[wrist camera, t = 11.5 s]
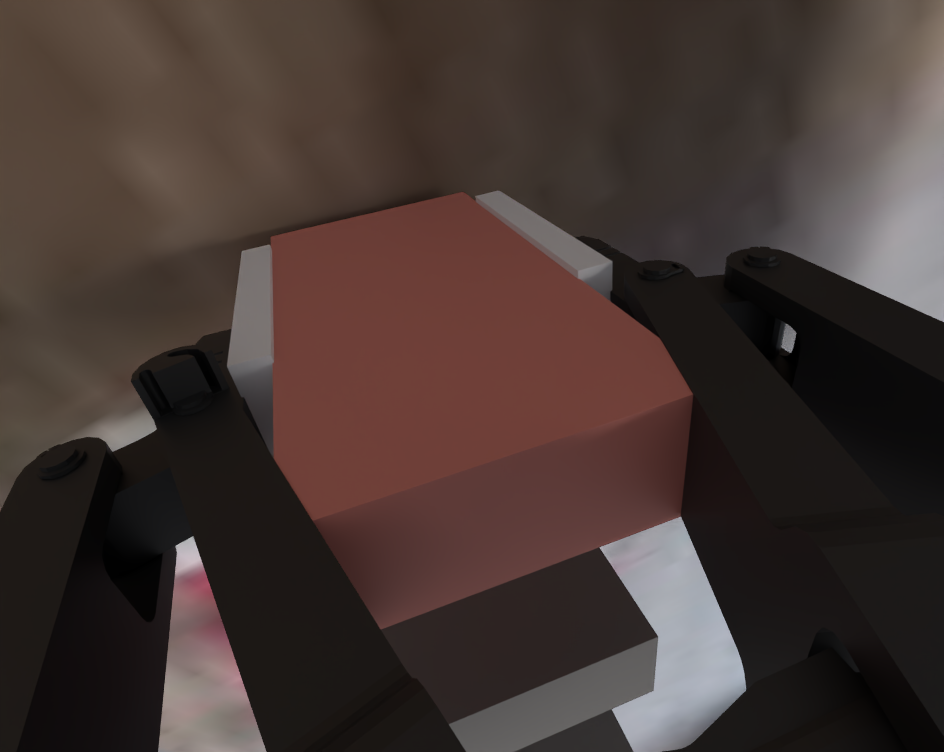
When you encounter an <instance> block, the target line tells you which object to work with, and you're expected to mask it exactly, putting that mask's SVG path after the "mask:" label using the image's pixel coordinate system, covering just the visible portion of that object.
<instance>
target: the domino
mask: <svg viewBox="0 0 944 752" xmlns="http://www.w3.org/2000/svg"><path fill="white" fill-rule="evenodd" d="M381 631H382V632H383V634H384V636H385V637H386V639H387V640H388V642H389V644H390V645H391V647H392V648H393V650H394V652H395V653H396V655H397V656H398V658H399V660H400V661H401V663H402V664H403V666H404V667H405V669H406V670H407V672H408V673H409V674H410V676H411V677H412V678H417V679H418V680H419V682H420V683H421V684H422V685H423V686H424V688H425V689H426V691H427V692H428V694H429V695H430V697H431V698H432V699H433V701H434V702H435V704H436V705H437V707H438V708H439V710H440V712H441V713H442V715H443V716H444V718H445V719H446V721H447V723H448V724H449V726H450V727H451V729H452V730H453V732H454V733H455V735H456V737H457V738H458V740H459V741H460V743H461V744H462V746H463V748H464V749H465V751H466V752H515V751H517V750H519V749H521V748H524V747H526V746H528V745H531V744H533V743H535V742H537V741H540V740H542V739H544V738H547V737H549V736H551V735H553V734H556V733H558V732H560V731H563V730H565V729H567V728H569V727H572V726H574V725H576V724H579V723H581V722H583V721H585V720H588V719H590V718H592V717H595V716H597V715H599V714H601V713H604V712H606V711H608V710H611V709H613V708H615V707H617V706H620V705H622V704H624V703H627V702H629V701H631V700H633V699H636V698H638V697H640V696H643V695H645V694H647V693H649V692H652V691H653V690H654V679H655V667H656V656H657V644H658V636H657V634H656V633H655V631H654V630H653V628H652V627H651V625H650V624H649V622H648V621H647V619H646V618H645V616H644V615H643V613H642V612H641V610H640V608H639V607H638V605H637V604H636V602H635V601H634V599H633V598H632V596H631V595H630V593H629V592H628V590H627V589H626V587H625V586H624V584H623V583H622V581H621V580H620V578H619V577H618V575H617V574H616V572H615V571H614V569H613V567H612V566H611V564H610V563H609V561H608V560H607V558H606V557H605V555H604V554H603V552H602V551H601V549H600V548H599V547H598V548H596V549H593V550H590V551H588V552H585V553H582V554H580V555H577V556H575V557H572V558H569V559H567V560H564V561H561V562H559V563H556V564H553V565H551V566H548V567H545V568H543V569H540V570H537V571H535V572H532V573H529V574H527V575H524V576H521V577H519V578H516V579H514V580H511V581H508V582H506V583H503V584H500V585H498V586H495V587H492V588H490V589H487V590H484V591H482V592H479V593H476V594H474V595H471V596H468V597H466V598H463V599H460V600H458V601H455V602H453V603H450V604H447V605H445V606H442V607H439V608H437V609H434V610H431V611H429V612H426V613H423V614H421V615H418V616H415V617H413V618H410V619H407V620H405V621H402V622H399V623H397V624H394V625H392V626H389V627H386V628H384V629H381Z"/></svg>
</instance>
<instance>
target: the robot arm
mask: <svg viewBox="0 0 944 752" xmlns="http://www.w3.org/2000/svg"><path fill="white" fill-rule="evenodd" d="M475 199H476V202H477V203H478V204H479V205H481V206H482V207H483V208H485V209H486V210H487V211H489V212H490V213H491V214H493V215H494V216H495V217H496V218H498V219H499V220H500V221H502V222H503V223H504V224H506V225H507V226H508V227H510V228H511V229H512V230H514V231H515V232H516V233H518V234H519V235H520V236H522V237H523V238H524V239H526V240H527V241H528V242H530V243H531V244H532V245H534V246H535V247H536V248H538V249H539V250H540V251H542V252H543V253H544V254H546V255H547V256H548V257H550V258H551V259H552V260H554V261H555V262H556V263H558V264H559V265H560V266H562V267H563V268H564V269H566V270H567V271H568V272H570V273H571V274H572V275H574V276H575V277H576V278H578V279H581V280H582V281H584V282H585V283H586V284H588V285H589V286H590V287H592V288H593V289H594V290H596V291H597V292H598V293H600V294H601V295H602V296H604V297H605V298H606V299H608V300H609V301H610V302H612V303H613V304H614V305H616V306H617V307H618V308H620V309H621V310H622V311H624V312H625V313H627V314H628V315H629V316H631V317H632V318H633V319H635V320H636V321H637V322H639V323H640V324H641V325H643V326H644V327H645V328H647V329H648V330H649V331H651V332H652V333H653V334H655V335H656V336H657V337H659V338H660V339H661V341H662V342H663V344H664V346H665V347H666V349H667V351H668V353H669V354H670V356H671V358H672V359H673V361H674V363H675V364H676V366H677V368H678V369H679V371H680V373H681V374H682V376H683V378H684V380H685V381H686V383H687V385H688V386H689V388H690V390H691V391H692V393H693V402H692V412H691V421H690V431H689V440H688V450H687V459H686V469H685V479H684V488H683V498H682V507H681V517H682V520H683V522H684V524H685V527H686V529H687V531H688V534H689V536H690V538H691V541H692V543H693V546H694V548H695V550H696V553H697V555H698V557H699V560H700V562H701V564H702V567H703V569H704V571H705V574H706V576H707V578H708V581H709V583H710V586H711V588H712V590H713V593H714V595H715V597H716V600H717V602H718V604H719V607H720V609H721V611H722V614H723V616H724V618H725V621H726V623H727V626H728V628H729V630H730V633H731V635H732V637H733V640H734V642H735V644H736V647H737V649H738V652H739V655H740V657H741V660H742V664H743V668H744V673H745V681H746V689H747V690H746V691H745V692H744V693H743V694H742V695H741V696H740V697H739V698H738V699H737V700H736V701H735V702H734V703H733V704H732V705H731V706H730V707H729V708H728V709H727V710H726V711H725V712H724V713H723V714H722V715H721V716H720V717H719V718H718V719H717V720H716V721H715V722H714V723H713V724H712V725H711V726H710V727H709V728H708V729H707V730H706V731H705V732H704V733H703V734H702V735H700V736H699V737H698V738H697V739H696V740H695V741H694V742H693V743H692V744H691V745H689V746H687V747H685V748H682V749H678V750H672V751H663V752H944V322H942V321H940V320H937V319H935V318H933V317H931V316H929V315H926V314H924V313H922V312H920V311H917V310H915V309H913V308H911V307H909V306H906V305H904V304H902V303H900V302H897V301H895V300H893V299H891V298H888V297H886V296H884V295H882V294H880V293H877V292H875V291H873V290H871V289H868V288H866V287H864V286H862V285H860V284H857V283H855V282H853V281H851V280H848V279H846V278H844V277H842V276H839V275H837V274H835V273H833V272H831V271H828V270H826V269H824V268H822V267H819V266H817V265H815V264H813V263H811V262H808V261H806V260H804V259H802V258H799V257H797V256H795V255H793V254H790V253H788V252H784V251H781V250H777V249H771V248H769V247H760V248H759V247H751V248H750V249H744V250H739V251H736V252H734V253H731V254H730V255H729V256H728V257H727V259H726V267H725V275H716V276H707V277H697V278H696V277H695V276H694V275H693V273H692V272H691V271H690V270H689V269H688V268H687V267H685V266H684V265H682V264H679V263H677V262H672V261H662V260H654V261H645V262H641V263H639V262H637V261H635V260H633V259H632V258H630V257H628V256H627V255H625V254H623V253H620V251H618V250H616V249H615V248H613V247H612V248H611V246H610V245H608V244H606V243H604V242H603V241H601V240H599V239H594V238H590V237H586V236H580V237H576V238H574V237H573V236H571V235H569V234H568V233H566V232H565V231H563V230H561V229H560V228H558V227H557V226H555V225H553V224H552V223H550V222H549V221H547V220H546V219H544V218H542V217H541V216H539V215H538V214H536V213H534V212H533V211H531V210H530V209H528V208H526V207H525V206H523V205H522V204H520V203H518V202H517V201H515V200H514V199H512V198H510V197H509V196H507V195H506V194H504V193H502V192H501V191H499V190H498V191H494V192H490V193H486V194H481V195H477V196H475ZM786 324H788V325H789V326H791V327H792V328H793V329H794V330H795V331H796V333H797V334H796V338H795V343H794V348H793V350H792V352H791V353H789V352H787V351H786V350H784V349H783V348H781V345H782V340H783V335H784V330H785V325H786ZM272 363H274V331H273V276H272V249H271V246H270V244H269V245H265V246H261V247H257V248H252V249H248V250H244V251H242V254H241V261H240V269H239V277H238V285H237V292H236V300H235V308H234V315H233V323H232V329H229V330H225V331H221V332H218V333H214V334H210V335H206V336H203V337H202V338H201V339H200V340H199V341H198V342H197V343H196V345H192V346H185V347H179V348H176V349H173V350H170V351H166V352H164V353H162V354H160V355H158V356H155V357H153V358H151V359H150V360H148V361H147V362H145V363H144V364H142V365H141V366H140V367H139V368H138V369H137V370H136V371H135V372H134V373H133V374H132V379H131V382H132V384H133V386H134V388H135V389H136V391H137V393H138V394H139V396H140V398H141V399H142V401H143V403H144V404H145V406H146V408H147V409H148V411H149V413H150V414H151V416H152V418H153V419H154V422H155V425H156V428H157V430H155V431H154V432H152V433H151V434H149V435H147V436H146V437H144V438H142V439H140V440H138V441H136V442H134V443H131V444H129V445H127V446H125V447H123V448H121V449H118V450H116V451H114V452H112V451H111V449H110V448H109V446H108V445H107V443H106V442H105V441H103V440H101V439H100V438H93V437H86V438H81V439H76V440H72V441H69V442H67V443H64V444H62V445H61V444H60V445H56V446H54V447H52V448H50V449H49V451H45V452H43V453H41V454H40V455H39V456H37V458H36V459H35V460H34V461H32V462H31V463H30V464H29V465H27V466H26V467H25V468H24V469H23V471H22V472H21V473H20V475H19V476H18V477H17V479H16V481H15V483H14V485H13V487H12V489H11V491H10V493H9V495H8V497H7V499H6V501H5V503H4V505H3V507H2V509H1V511H0V752H158V746H159V736H160V725H161V714H162V704H163V693H164V683H165V672H166V661H167V651H168V640H169V630H170V619H171V609H172V598H173V587H174V577H175V566H176V556H177V552H176V547H175V546H176V545H178V544H179V543H181V542H183V541H185V540H187V539H188V538H190V537H192V536H194V539H195V542H196V545H197V548H198V551H199V554H200V557H201V560H202V563H203V566H204V569H205V572H206V575H207V578H208V581H209V583H210V586H211V589H212V592H213V595H214V598H215V601H216V604H217V607H218V610H219V613H220V616H221V619H222V622H223V625H224V628H225V631H226V634H227V636H228V639H229V642H230V645H231V648H232V651H233V654H234V657H235V660H236V663H237V666H238V669H239V672H240V675H241V678H242V681H243V684H244V686H245V689H246V692H247V695H248V698H249V701H250V704H251V707H252V710H253V713H254V716H255V719H256V722H257V725H258V728H259V731H260V734H261V736H262V739H263V742H264V745H265V748H266V751H267V752H466V751H465V749H464V748H463V746H462V744H461V743H460V741H459V740H458V738H457V737H456V735H455V733H454V732H453V730H452V729H451V727H450V726H449V724H448V723H447V721H446V719H445V718H444V716H443V715H442V713H441V712H440V710H439V708H438V707H437V705H436V704H435V702H434V701H433V699H432V698H431V697H430V695H429V694H428V692H427V691H426V689H425V688H424V686H423V685H422V684H421V683H420V682H419V680H418V679H417V678H412V677H411V676H410V674H409V673H408V672H407V670H406V669H405V667H404V666H403V664H402V663H401V661H400V660H399V658H398V656H397V655H396V653H395V652H394V650H393V648H392V647H391V645H390V644H389V642H388V640H387V639H386V637H385V636H384V634H383V632H382V631H381V629H380V628H379V626H378V624H377V623H376V621H375V620H374V618H373V616H372V615H371V613H370V612H369V610H368V608H367V607H366V605H365V604H364V602H363V600H362V599H361V597H360V596H359V594H358V592H357V591H356V589H355V588H354V586H353V584H352V583H351V581H350V580H349V578H348V576H347V575H346V573H345V572H344V570H343V568H342V567H341V565H340V564H339V562H338V560H337V559H336V557H335V556H334V554H333V552H332V551H331V549H330V548H329V546H328V544H327V543H326V541H325V540H324V538H323V536H322V535H321V533H320V532H319V530H318V528H317V527H316V525H315V524H314V522H313V520H312V519H311V517H310V516H309V514H308V513H307V511H306V509H305V508H304V506H303V505H302V503H301V501H300V500H299V498H298V497H297V495H296V493H295V492H294V490H293V489H292V487H291V485H290V484H289V482H288V481H287V479H286V477H285V476H284V474H283V473H282V471H281V469H280V468H279V466H278V465H277V463H276V461H275V460H274V445H273V368H272Z"/></svg>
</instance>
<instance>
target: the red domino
mask: <svg viewBox="0 0 944 752" xmlns="http://www.w3.org/2000/svg"><path fill="white" fill-rule="evenodd" d="M271 249H272V276H273V331H274V363H272V368H273V445H274V460H275V461H276V463H277V465H278V466H279V468H280V469H281V471H282V473H283V474H284V476H285V477H286V479H287V481H288V482H289V484H290V485H291V487H292V489H293V490H294V492H295V493H296V495H297V497H298V498H299V500H300V501H301V503H302V505H303V506H304V508H305V509H306V511H307V513H308V514H309V516H310V517H311V519H312V520H313V522H314V524H315V525H316V527H317V528H318V530H319V532H320V533H321V535H322V536H323V538H324V540H325V541H326V543H327V544H328V546H329V548H330V549H331V551H332V552H333V554H334V556H335V557H336V559H337V560H338V562H339V564H340V565H341V567H342V568H343V570H344V572H345V573H346V575H347V576H348V578H349V580H350V581H351V583H352V584H353V586H354V588H355V589H356V591H357V592H358V594H359V596H360V597H361V599H362V600H363V602H364V604H365V605H366V607H367V608H368V610H369V612H370V613H371V615H372V616H373V618H374V620H375V621H376V623H377V624H378V626H379V628H380V629H384V628H386V627H389V626H392V625H394V624H397V623H399V622H402V621H405V620H407V619H410V618H413V617H415V616H418V615H421V614H423V613H426V612H429V611H431V610H434V609H437V608H439V607H442V606H445V605H447V604H450V603H453V602H455V601H458V600H460V599H463V598H466V597H468V596H471V595H474V594H476V593H479V592H482V591H484V590H487V589H490V588H492V587H495V586H498V585H500V584H503V583H506V582H508V581H511V580H514V579H516V578H519V577H521V576H524V575H527V574H529V573H532V572H535V571H537V570H540V569H543V568H545V567H548V566H551V565H553V564H556V563H559V562H561V561H564V560H567V559H569V558H572V557H575V556H577V555H580V554H582V553H585V552H588V551H590V550H593V549H596V548H598V547H601V546H604V545H606V544H609V543H612V542H614V541H617V540H620V539H622V538H625V537H628V536H630V535H633V534H636V533H638V532H641V531H644V530H646V529H649V528H651V527H654V526H657V525H659V524H662V523H665V522H667V521H670V520H673V519H675V518H678V517H681V507H682V498H683V488H684V479H685V469H686V459H687V450H688V440H689V431H690V421H691V412H692V402H693V393H692V391H691V390H690V388H689V386H688V385H687V383H686V381H685V380H684V378H683V376H682V374H681V373H680V371H679V369H678V368H677V366H676V364H675V363H674V361H673V359H672V358H671V356H670V354H669V353H668V351H667V349H666V347H665V346H664V344H663V342H662V341H661V339H660V338H659V337H657V336H656V335H655V334H653V333H652V332H651V331H649V330H648V329H647V328H645V327H644V326H643V325H641V324H640V323H639V322H637V321H636V320H635V319H633V318H632V317H631V316H629V315H628V314H627V313H625V312H624V311H622V310H621V309H620V308H618V307H617V306H616V305H614V304H613V303H612V302H610V301H609V300H608V299H606V298H605V297H604V296H602V295H601V294H600V293H598V292H597V291H596V290H594V289H593V288H592V287H590V286H589V285H588V284H586V283H585V282H584V281H582V280H581V279H578V278H576V277H575V276H574V275H572V274H571V273H570V272H568V271H567V270H566V269H564V268H563V267H562V266H560V265H559V264H558V263H556V262H555V261H554V260H552V259H551V258H550V257H548V256H547V255H546V254H544V253H543V252H542V251H540V250H539V249H538V248H536V247H535V246H534V245H532V244H531V243H530V242H528V241H527V240H526V239H524V238H523V237H522V236H520V235H519V234H518V233H516V232H515V231H514V230H512V229H511V228H510V227H508V226H507V225H506V224H504V223H503V222H502V221H500V220H499V219H498V218H496V217H495V216H494V215H493V214H491V213H490V212H489V211H487V210H486V209H485V208H483V207H482V206H481V205H479V204H478V203H477V202H476V201H475V200H474V199H472V198H471V197H470V196H468V195H467V194H466V193H464V192H460V193H455V194H451V195H447V196H442V197H438V198H434V199H430V200H425V201H421V202H417V203H412V204H408V205H404V206H399V207H395V208H391V209H387V210H382V211H378V212H374V213H369V214H365V215H361V216H357V217H352V218H348V219H344V220H339V221H335V222H331V223H326V224H322V225H318V226H314V227H309V228H305V229H301V230H296V231H292V232H288V233H284V234H279V235H275V236H271Z"/></svg>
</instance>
